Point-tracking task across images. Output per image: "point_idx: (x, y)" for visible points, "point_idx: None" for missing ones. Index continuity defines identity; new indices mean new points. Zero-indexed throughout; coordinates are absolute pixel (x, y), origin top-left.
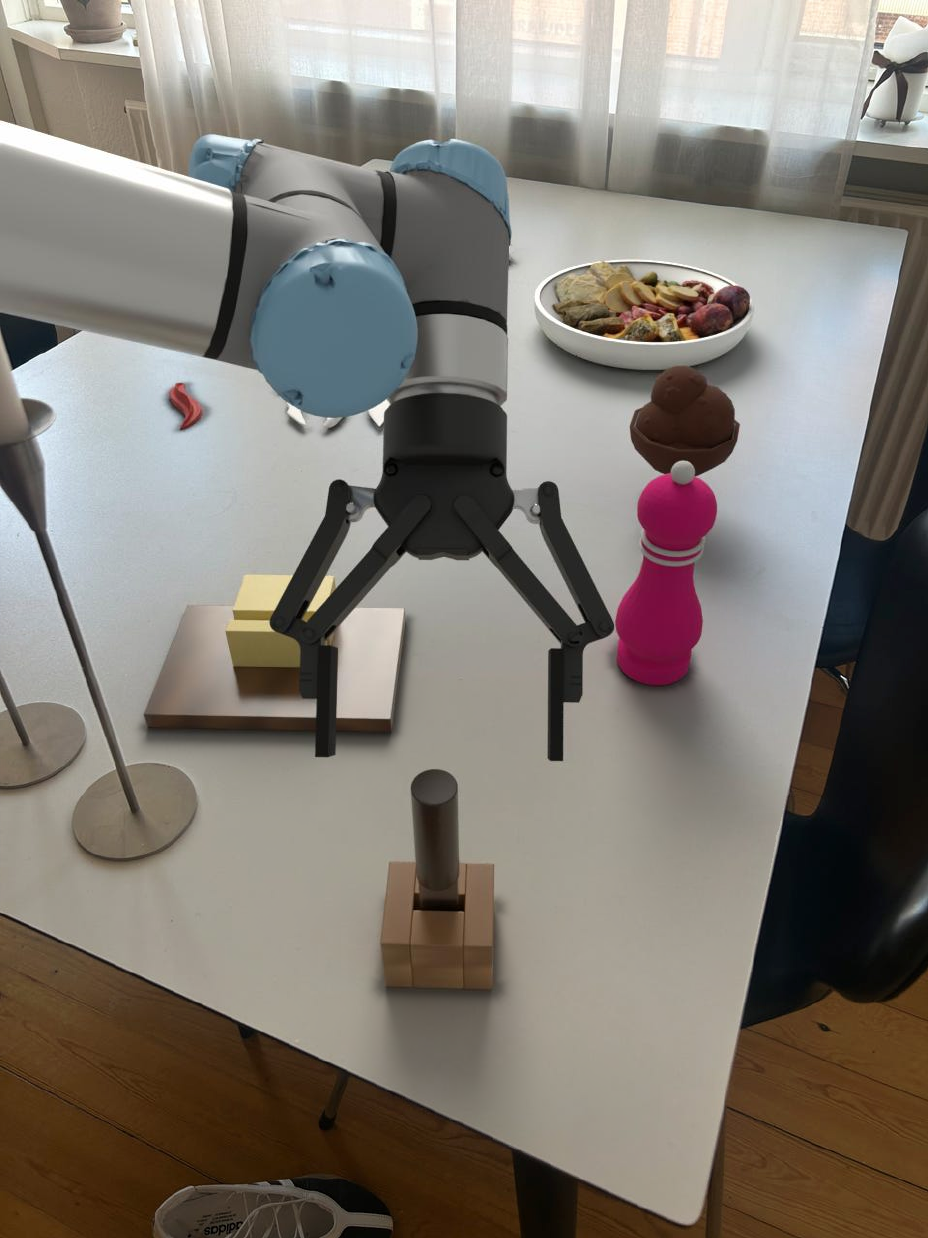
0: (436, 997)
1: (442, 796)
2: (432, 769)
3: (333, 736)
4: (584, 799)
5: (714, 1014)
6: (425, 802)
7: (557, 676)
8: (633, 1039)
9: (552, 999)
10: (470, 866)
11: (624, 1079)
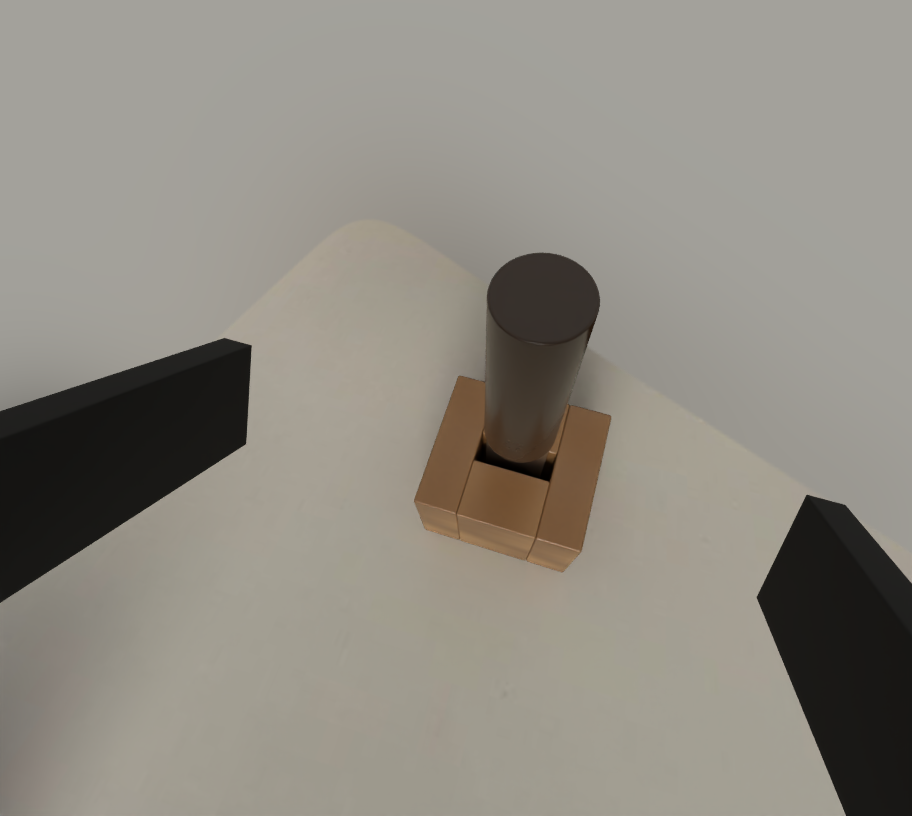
0: None
1: (530, 267)
2: (537, 341)
3: (788, 599)
4: (205, 693)
5: (238, 338)
6: (571, 262)
7: (59, 403)
8: (332, 335)
9: (397, 393)
10: (451, 505)
11: (361, 304)
